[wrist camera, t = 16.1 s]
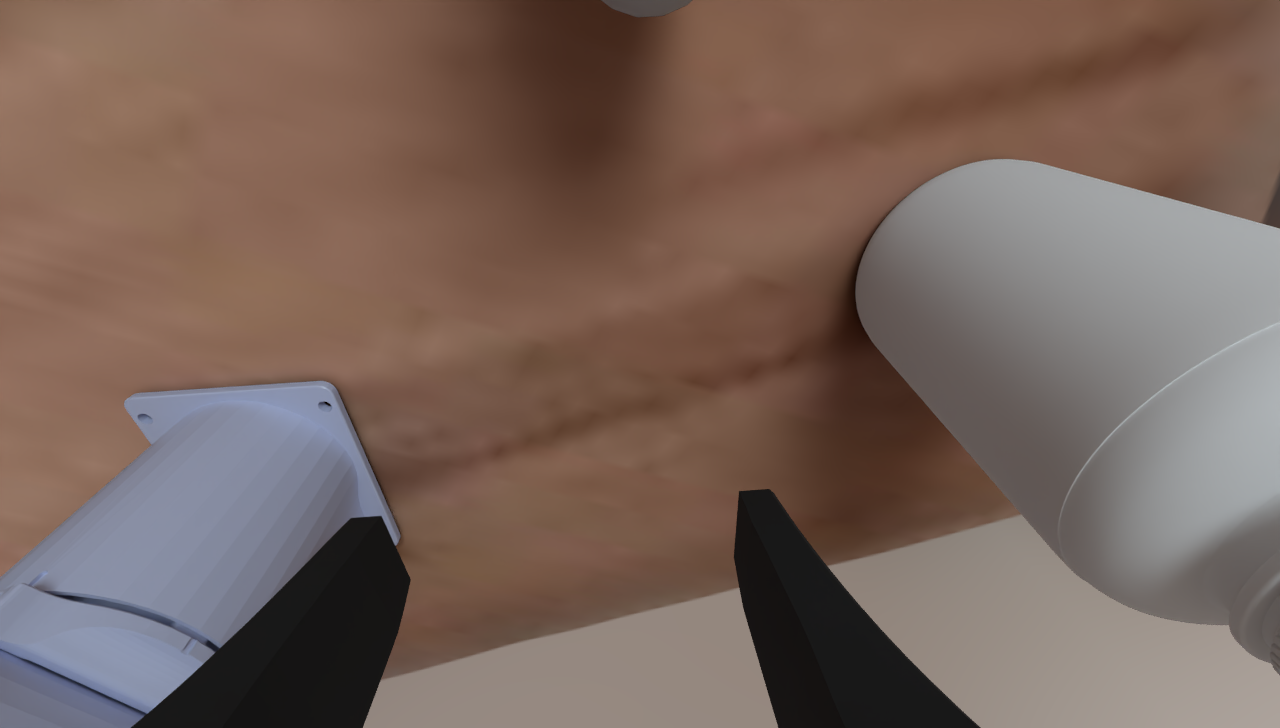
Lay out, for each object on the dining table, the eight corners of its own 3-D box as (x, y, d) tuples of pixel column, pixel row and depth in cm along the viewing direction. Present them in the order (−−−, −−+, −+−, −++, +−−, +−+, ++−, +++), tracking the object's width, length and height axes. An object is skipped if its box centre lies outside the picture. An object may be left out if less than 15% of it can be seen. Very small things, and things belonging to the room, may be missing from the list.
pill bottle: (962, 104, 16) (2233, 316, 4) (1111, 225, 19) (2184, 610, 6) (803, 304, 20) (1158, 775, 7) (946, 385, 22) (1402, 842, 9)
